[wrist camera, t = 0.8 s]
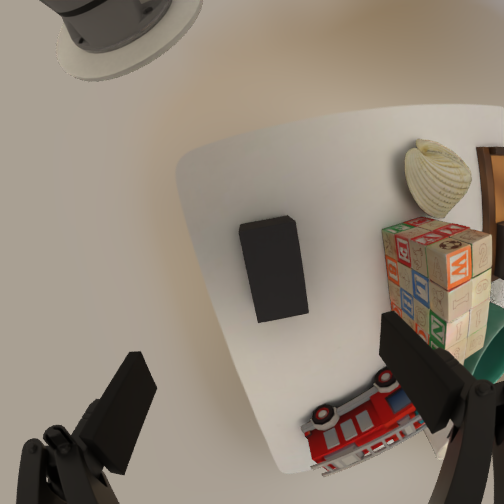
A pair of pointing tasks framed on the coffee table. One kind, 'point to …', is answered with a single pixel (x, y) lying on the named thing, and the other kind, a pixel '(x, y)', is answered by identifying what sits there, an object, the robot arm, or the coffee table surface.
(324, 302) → the coffee table surface
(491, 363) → the mug
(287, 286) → the black block
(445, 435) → the candle holder
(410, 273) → the stack of blocks
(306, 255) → the coffee table surface
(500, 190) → the brown wooden tray
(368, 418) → the toy fire truck
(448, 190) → the seashell
